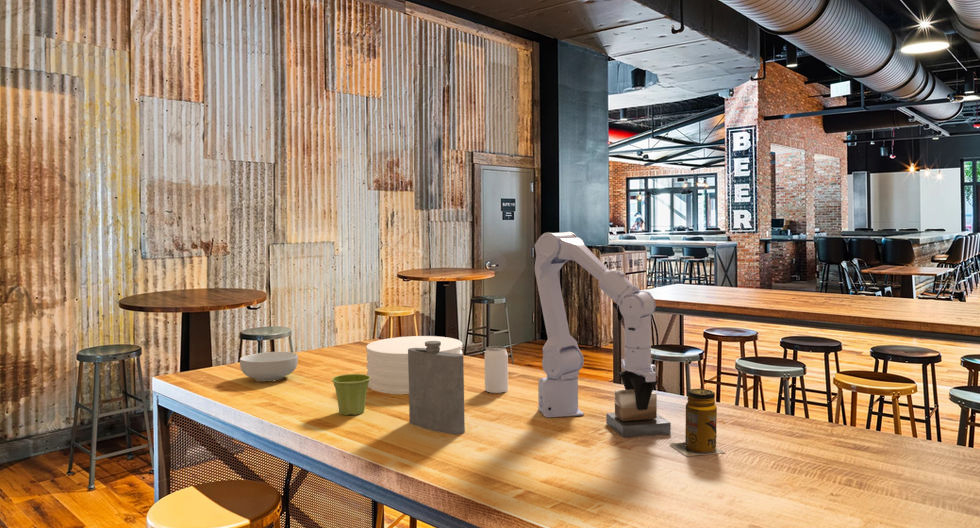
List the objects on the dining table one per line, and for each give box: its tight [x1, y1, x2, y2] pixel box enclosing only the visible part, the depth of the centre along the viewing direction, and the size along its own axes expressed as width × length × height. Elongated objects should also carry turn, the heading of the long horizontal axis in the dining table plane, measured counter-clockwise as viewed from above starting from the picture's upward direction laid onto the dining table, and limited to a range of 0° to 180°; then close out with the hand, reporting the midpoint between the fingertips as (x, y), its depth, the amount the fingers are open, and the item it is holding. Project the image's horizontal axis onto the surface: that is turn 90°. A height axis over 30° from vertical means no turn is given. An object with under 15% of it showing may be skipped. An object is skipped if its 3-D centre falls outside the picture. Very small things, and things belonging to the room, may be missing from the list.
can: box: [483, 345, 509, 394], centre depth 182 cm, size 6×6×12 cm
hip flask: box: [408, 341, 466, 436], centre depth 150 cm, size 16×4×20 cm, turn 52°
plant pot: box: [331, 373, 371, 416], centre depth 163 cm, size 9×9×9 cm
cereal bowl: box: [239, 351, 299, 383], centre depth 200 cm, size 17×17×7 cm
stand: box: [605, 412, 672, 438], centre depth 148 cm, size 11×10×2 cm
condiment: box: [669, 388, 726, 457], centre depth 134 cm, size 7×8×12 cm
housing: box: [614, 389, 658, 421], centre depth 147 cm, size 5×8×6 cm, turn 101°
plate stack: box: [366, 335, 464, 395], centre depth 194 cm, size 28×28×12 cm
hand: (637, 406), depth 147 cm, fingers closed on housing, 4 cm apart
